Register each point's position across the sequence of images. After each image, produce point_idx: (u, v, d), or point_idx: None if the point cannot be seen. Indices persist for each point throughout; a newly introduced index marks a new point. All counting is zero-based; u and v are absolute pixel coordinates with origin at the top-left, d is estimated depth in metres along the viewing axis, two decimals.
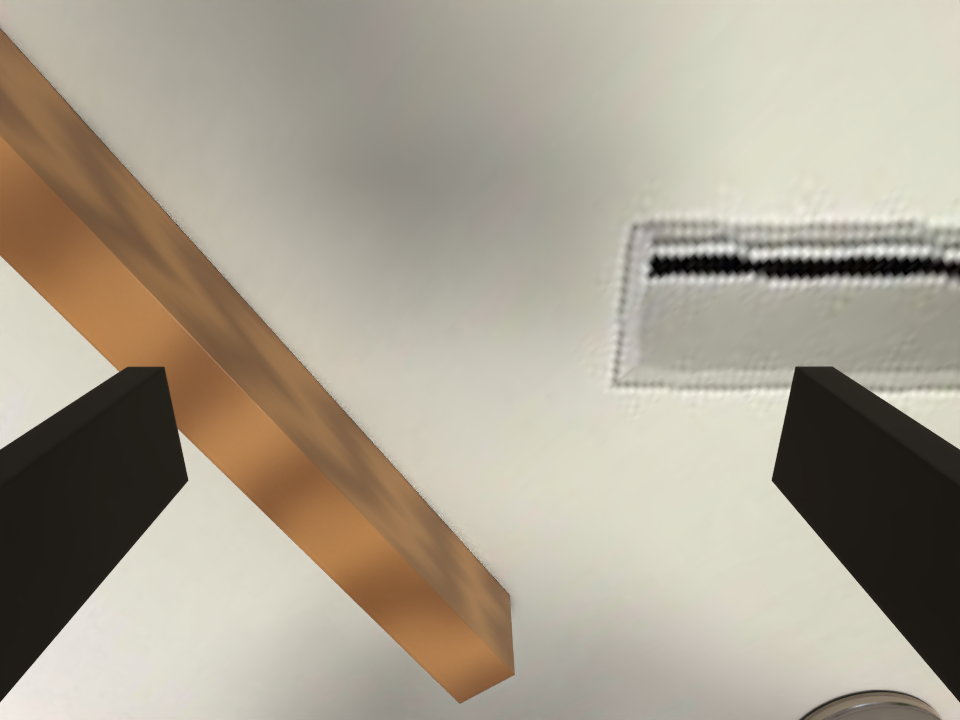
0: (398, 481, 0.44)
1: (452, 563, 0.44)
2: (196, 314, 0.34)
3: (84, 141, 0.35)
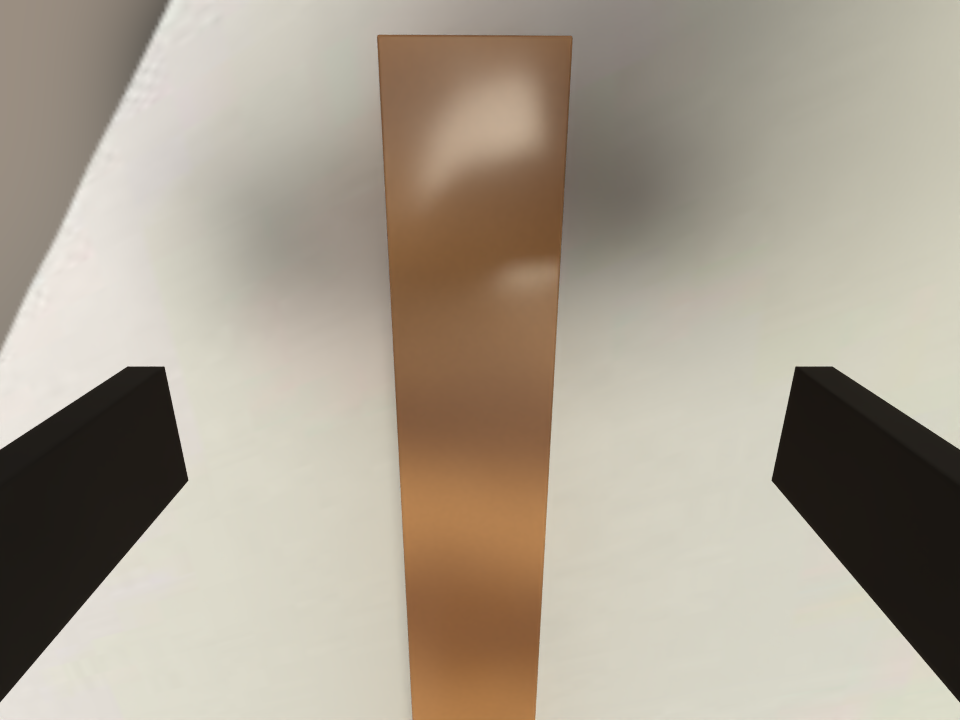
0: None
1: None
2: None
3: None
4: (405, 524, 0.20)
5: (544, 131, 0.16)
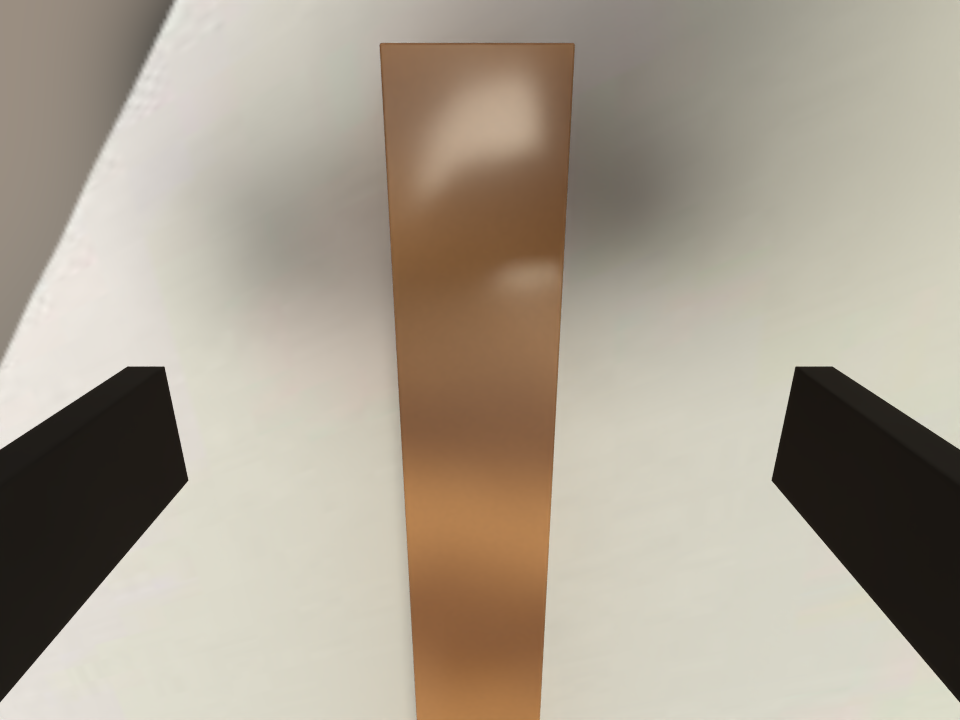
0: None
1: None
2: None
3: None
4: (409, 530, 0.20)
5: (547, 138, 0.16)
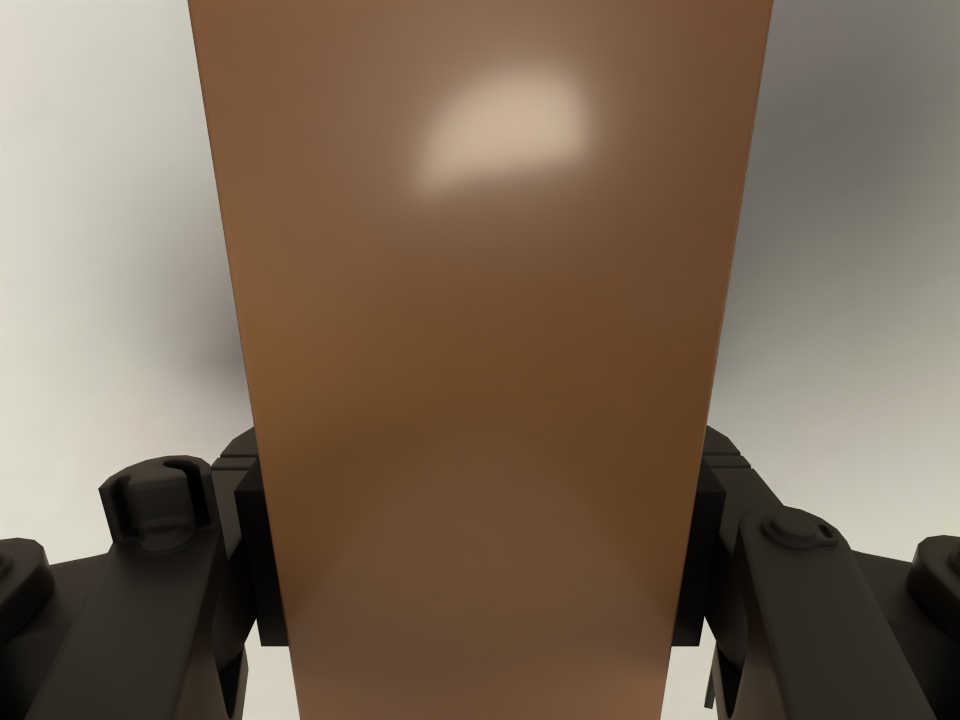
0: None
1: None
2: None
3: None
4: None
5: (685, 142, 0.05)
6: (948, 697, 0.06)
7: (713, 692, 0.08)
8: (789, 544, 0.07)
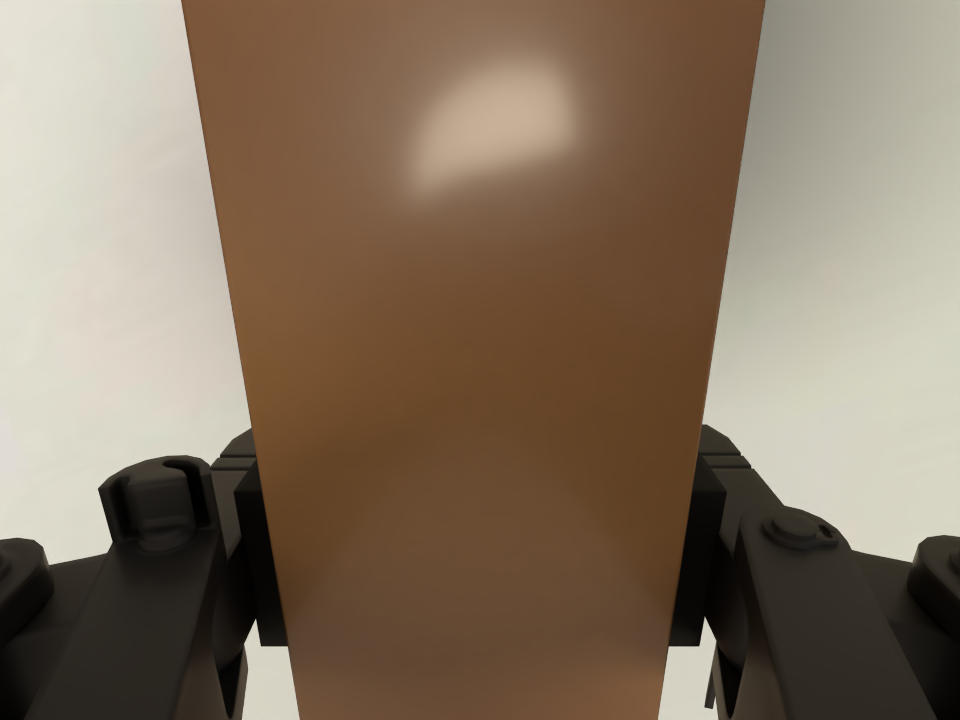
0: None
1: None
2: None
3: None
4: None
5: (678, 144, 0.05)
6: (948, 697, 0.06)
7: (713, 692, 0.08)
8: (789, 544, 0.07)
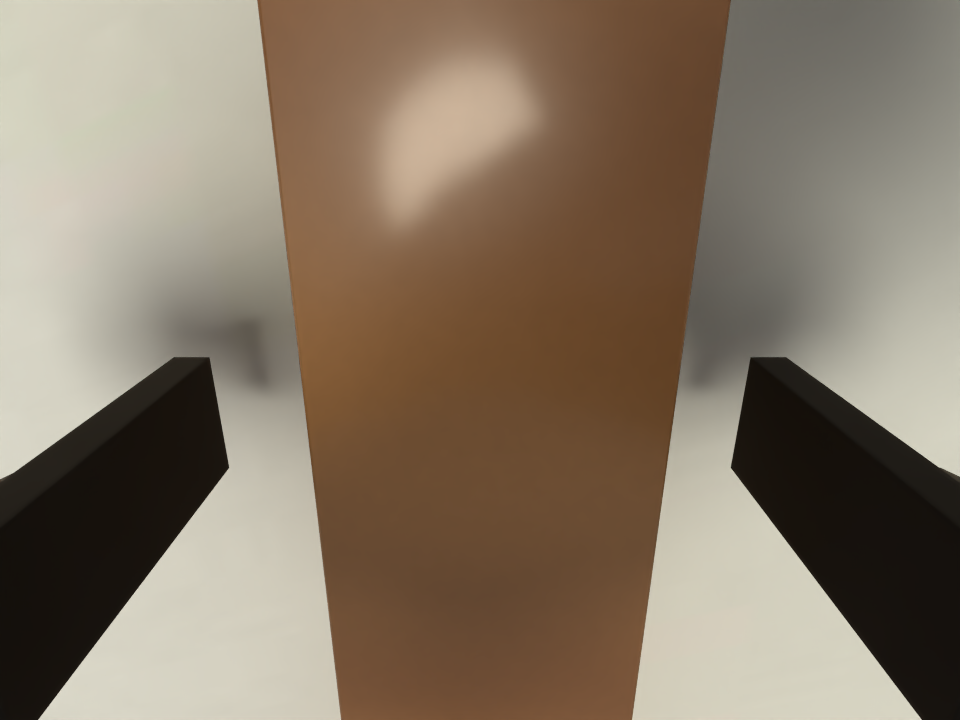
0: None
1: None
2: None
3: None
4: None
5: (658, 138, 0.07)
6: None
7: None
8: None
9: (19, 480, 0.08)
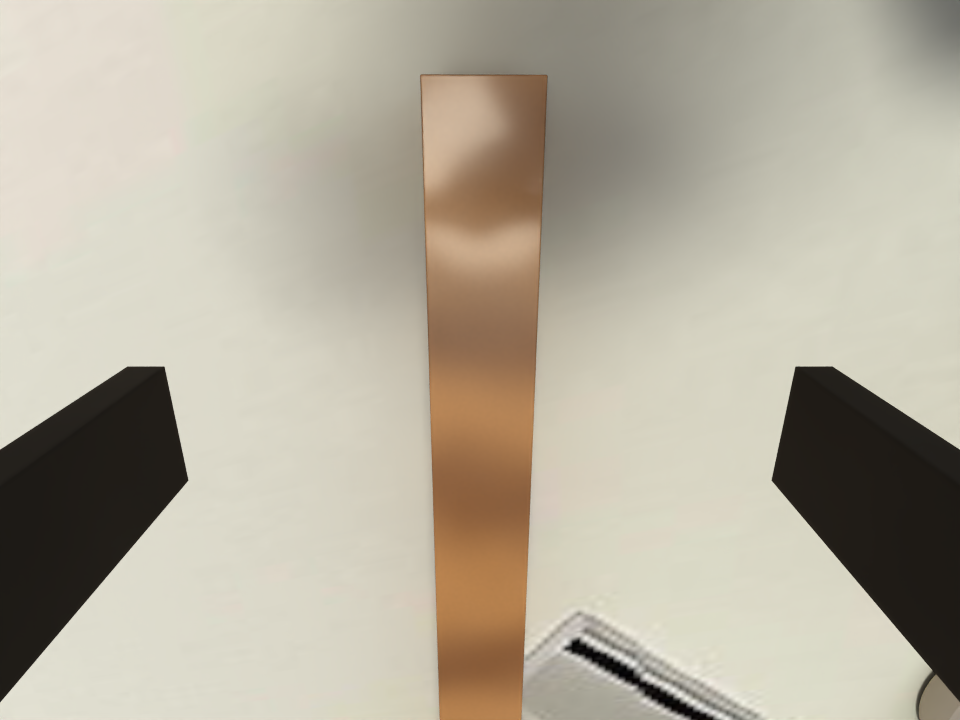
0: None
1: None
2: None
3: None
4: (432, 417, 0.28)
5: (529, 137, 0.24)
6: None
7: None
8: None
9: None
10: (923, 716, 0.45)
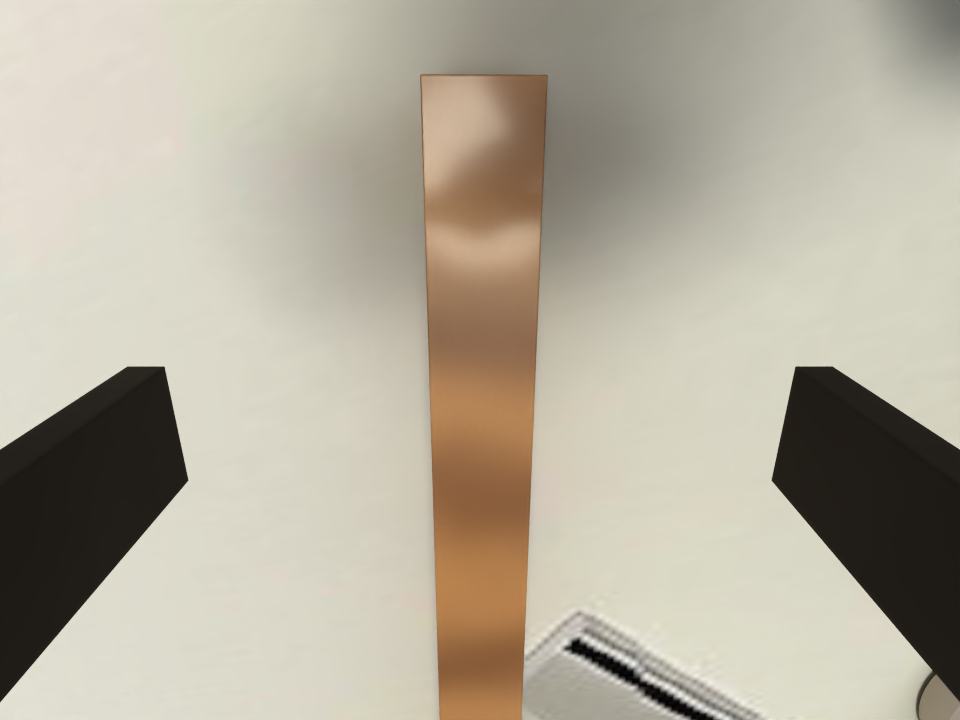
0: None
1: None
2: None
3: None
4: (432, 417, 0.28)
5: (529, 137, 0.24)
6: None
7: None
8: None
9: None
10: (923, 716, 0.45)
